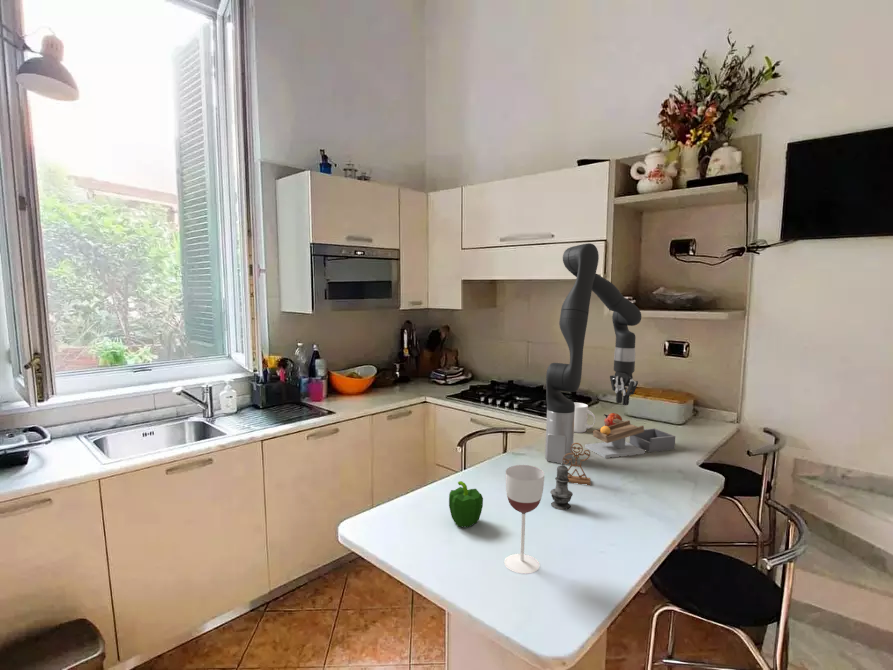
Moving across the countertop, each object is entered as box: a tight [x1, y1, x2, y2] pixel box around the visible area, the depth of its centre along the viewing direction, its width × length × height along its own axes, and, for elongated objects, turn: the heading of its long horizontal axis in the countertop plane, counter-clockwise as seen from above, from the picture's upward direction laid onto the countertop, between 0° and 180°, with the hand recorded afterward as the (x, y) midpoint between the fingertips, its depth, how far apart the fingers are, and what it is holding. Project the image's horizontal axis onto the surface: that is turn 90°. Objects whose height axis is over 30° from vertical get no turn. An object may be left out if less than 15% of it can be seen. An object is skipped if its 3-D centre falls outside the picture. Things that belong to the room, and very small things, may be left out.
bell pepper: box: [448, 480, 484, 528], centre depth 121 cm, size 8×8×10 cm
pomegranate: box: [603, 412, 623, 426], centre depth 205 cm, size 7×7×10 cm
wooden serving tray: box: [592, 419, 645, 443], centre depth 181 cm, size 15×16×2 cm
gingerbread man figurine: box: [563, 442, 591, 486], centre depth 148 cm, size 9×4×12 cm, turn 74°
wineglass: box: [503, 464, 545, 575], centre depth 103 cm, size 8×9×20 cm
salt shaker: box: [550, 463, 574, 511], centre depth 131 cm, size 6×6×12 cm
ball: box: [599, 425, 611, 435], centre depth 176 cm, size 4×4×4 cm
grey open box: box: [628, 428, 676, 453], centre depth 183 cm, size 11×12×5 cm
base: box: [584, 438, 646, 459], centre depth 178 cm, size 12×17×6 cm
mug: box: [573, 401, 596, 434], centre depth 202 cm, size 9×12×11 cm
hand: (622, 403), depth 187 cm, fingers open, 3 cm apart
